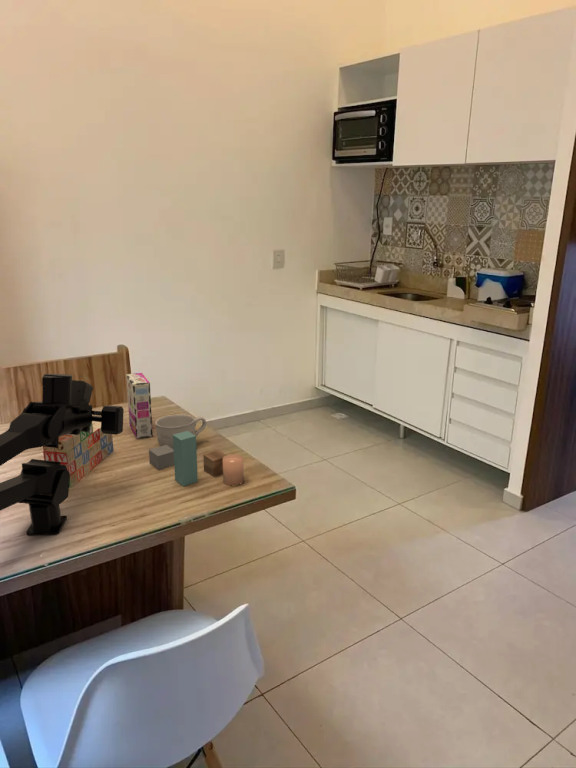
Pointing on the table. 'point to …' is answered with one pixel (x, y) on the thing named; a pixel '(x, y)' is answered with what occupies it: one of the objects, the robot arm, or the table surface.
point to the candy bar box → (139, 405)
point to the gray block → (161, 457)
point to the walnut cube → (214, 463)
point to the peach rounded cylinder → (233, 469)
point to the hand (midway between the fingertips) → (102, 412)
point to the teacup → (176, 427)
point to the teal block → (185, 458)
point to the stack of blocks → (81, 451)
